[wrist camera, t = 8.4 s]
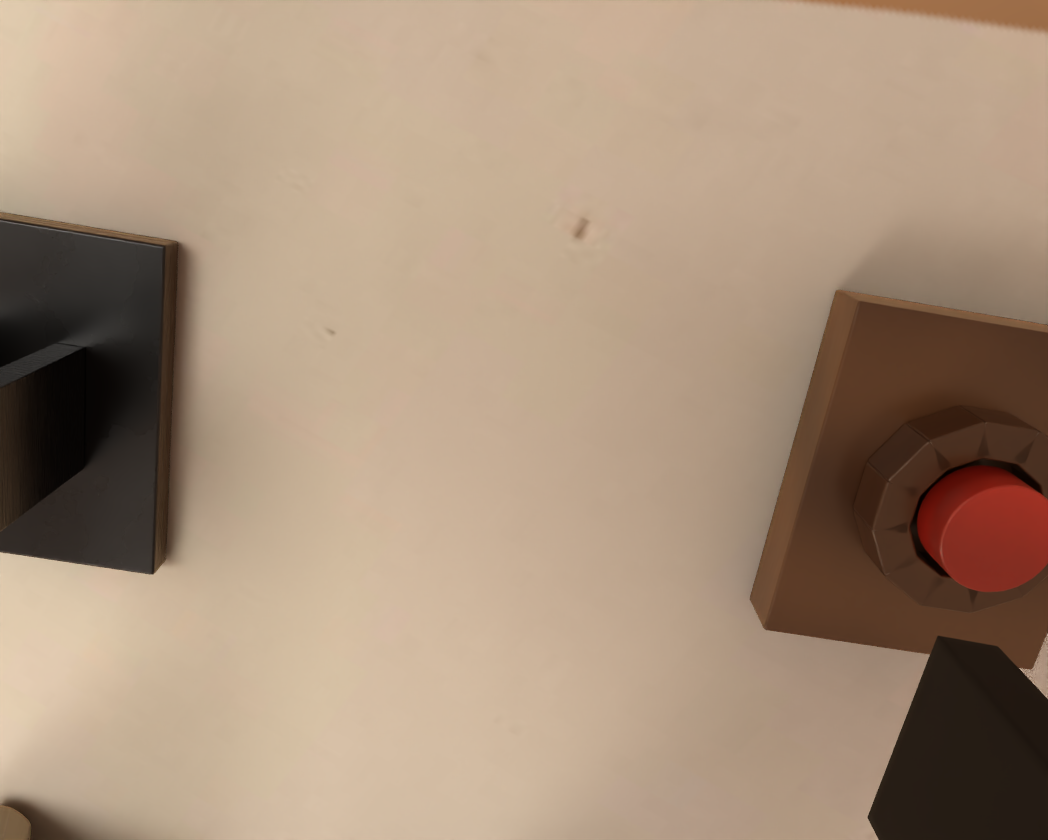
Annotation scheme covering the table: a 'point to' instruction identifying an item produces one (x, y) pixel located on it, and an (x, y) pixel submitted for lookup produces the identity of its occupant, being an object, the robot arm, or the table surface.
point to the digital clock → (13, 825)
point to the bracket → (85, 393)
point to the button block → (904, 477)
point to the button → (985, 528)
